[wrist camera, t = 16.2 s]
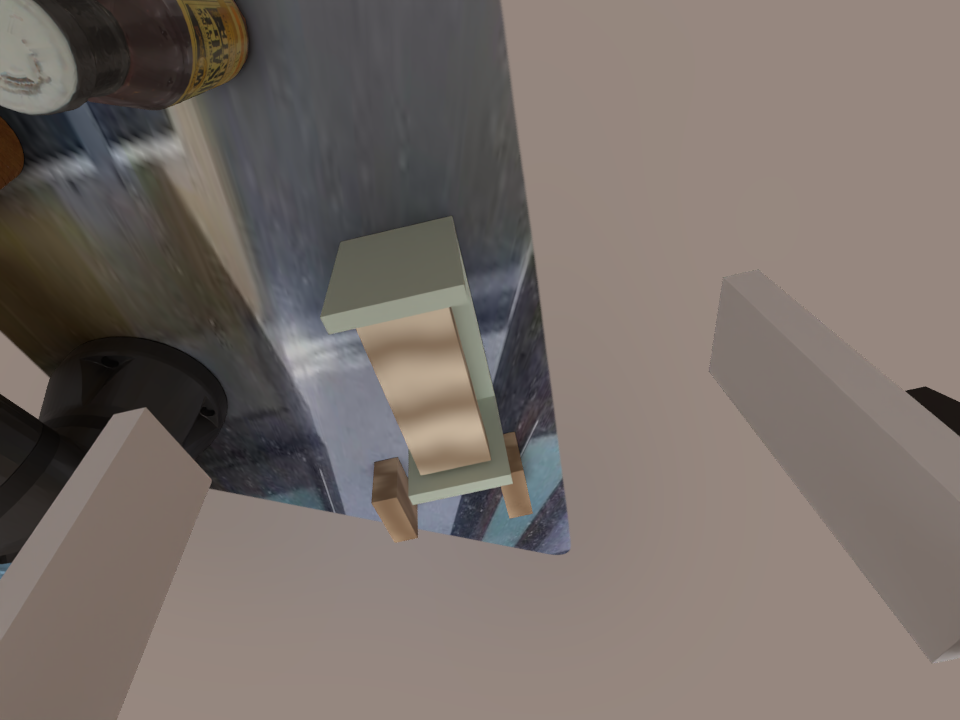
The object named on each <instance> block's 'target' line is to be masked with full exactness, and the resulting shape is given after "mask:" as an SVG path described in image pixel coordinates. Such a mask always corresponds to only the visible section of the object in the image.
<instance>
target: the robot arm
mask: <svg viewBox="0 0 960 720" xmlns="http://www.w3.org/2000/svg"><path fill="white" fill-rule="evenodd" d="M709 372H710V374H711V375H712V376H713V378H714V379H715V380H716V381H717V383H718V384H719V385H720V387H721V388H722V389H723V391H724V392H725V393H726V395H727V396H728V397H729V398H730V400H731V401H732V402H733V404H734V405H735V406H736V408H737V409H738V410H739V411H740V413H741V414H742V415H743V417H744V418H745V419H746V421H747V422H748V423H749V425H750V426H751V427H752V429H753V430H754V431H755V433H756V434H757V435H758V436H759V438H760V439H761V440H762V442H763V443H764V444H765V446H766V447H767V448H768V450H769V451H770V452H771V454H772V455H773V456H774V457H775V459H776V460H777V461H778V463H779V464H780V465H781V467H782V468H783V469H784V471H785V472H786V473H787V475H788V476H789V477H790V478H791V480H792V481H793V482H794V484H795V485H796V486H797V488H798V489H799V490H800V492H801V493H802V494H803V495H804V497H805V498H806V499H807V501H808V502H809V503H810V505H811V506H812V507H813V509H814V510H815V511H816V512H817V514H818V515H819V516H820V518H821V519H822V520H823V522H824V523H825V524H826V526H827V527H828V528H829V530H830V531H831V532H832V533H833V535H834V536H835V537H836V539H837V540H838V541H839V543H840V544H841V545H842V547H843V548H844V549H845V550H846V552H847V553H848V554H849V556H850V557H851V558H852V560H853V561H854V562H855V563H856V565H857V566H858V567H859V569H860V570H861V571H862V573H863V574H864V575H865V576H866V578H867V579H868V581H869V582H870V583H871V584H872V586H873V587H874V588H875V590H876V591H877V592H878V594H879V595H880V596H881V598H882V599H883V600H884V601H885V603H886V604H887V606H888V607H889V608H890V609H891V611H892V612H893V613H894V615H895V616H896V617H897V619H898V620H899V621H900V623H901V624H902V625H903V626H904V628H905V629H906V630H907V632H908V633H909V634H910V636H911V637H912V638H913V640H914V641H915V642H916V644H917V645H918V646H919V647H920V649H921V650H922V651H923V653H924V654H925V655H926V656H927V658H928V659H929V660H930V662H931V663H937V662H942V661H947V660H952V659H957V658H960V402H958V401H956V400H954V399H952V398H949V397H947V396H945V395H943V394H941V393H939V392H936V391H934V390H932V389H930V388H928V387H921V388H916V389H912V390H907V391H904V390H903V389H902V388H901V387H899V386H898V385H897V384H896V383H894V382H893V381H892V380H891V379H890V378H889V377H887V376H886V375H885V374H884V373H882V372H881V371H880V370H879V369H878V368H876V367H875V366H874V365H873V364H872V363H870V362H869V361H868V360H867V359H866V358H864V357H863V356H862V355H861V354H860V353H858V352H857V351H856V350H855V349H853V348H852V347H851V346H850V345H849V344H848V343H846V342H845V341H844V340H843V339H842V338H840V337H839V336H838V335H837V334H836V333H834V332H833V331H832V330H831V329H829V328H828V327H827V326H826V325H825V324H823V323H822V322H821V321H820V320H819V319H817V318H816V317H815V316H814V315H813V314H811V313H810V312H809V311H808V310H807V309H805V308H804V307H803V306H801V304H799V303H798V302H797V301H796V300H795V299H793V298H792V297H791V296H790V295H789V294H787V293H786V292H785V291H784V290H783V289H781V288H780V287H779V286H778V285H776V284H775V283H774V282H773V281H772V280H770V279H769V278H768V277H767V276H766V275H764V274H763V273H762V272H761V271H760V270H753V271H749V272H744V273H740V274H735V275H731V276H727V277H723V282H722V288H721V294H720V301H719V308H718V314H717V321H716V327H715V334H714V341H713V347H712V354H711V360H710V367H709ZM226 413H227V400H226V396H225V393H224V391H223V389H222V387H221V385H220V384H219V382H218V381H217V380H216V378H215V377H214V376H213V375H212V374H211V373H210V372H209V371H208V370H207V369H206V368H205V367H204V366H203V365H201V364H200V363H199V362H197V361H196V360H194V359H193V358H191V357H189V356H188V355H186V354H184V353H182V352H180V351H178V350H176V349H174V348H171V347H169V346H166V345H163V344H160V343H157V342H153V341H149V340H144V339H138V338H129V337H111V338H103V339H98V340H94V341H90V342H87V343H85V344H83V345H81V346H79V347H77V348H76V349H74V350H73V351H72V352H71V353H70V354H69V355H68V356H67V357H66V358H65V359H64V360H63V361H62V362H61V363H60V365H59V366H58V367H57V368H56V369H55V371H54V372H53V374H52V376H51V378H50V380H49V383H48V386H47V390H46V394H45V398H44V401H43V405H42V409H41V412H40V416H39V420H38V419H37V418H35V417H34V416H32V415H31V414H29V413H28V412H26V411H25V410H23V409H22V408H20V407H19V406H17V405H16V404H14V403H13V402H11V401H10V400H8V399H7V398H5V397H4V396H2V395H1V394H0V720H117V718H118V715H119V713H120V710H121V708H122V705H123V703H124V700H125V698H126V695H127V693H128V690H129V688H130V685H131V683H132V680H133V678H134V675H135V673H136V670H137V668H138V665H139V663H140V660H141V658H142V655H143V653H144V650H145V648H146V645H147V643H148V640H149V637H150V635H151V632H152V630H153V628H154V625H155V623H156V620H157V617H158V615H159V612H160V610H161V607H162V605H163V602H164V600H165V597H166V595H167V592H168V590H169V587H170V585H171V582H172V580H173V577H174V575H175V572H176V570H177V567H178V565H179V562H180V560H181V557H182V555H183V552H184V549H185V547H186V545H187V542H188V540H189V537H190V535H191V532H192V530H193V527H194V524H195V522H196V519H197V517H198V514H199V512H200V509H201V507H202V504H203V502H204V499H205V497H206V494H207V492H208V489H209V487H210V484H211V482H212V480H211V478H210V477H209V476H208V475H207V474H206V473H205V472H204V471H203V470H202V469H201V467H200V466H199V465H198V464H197V463H196V462H195V461H194V460H195V459H196V458H197V457H198V456H199V455H200V454H201V453H202V452H203V451H204V450H205V449H206V448H207V447H208V446H209V445H210V444H211V443H212V442H213V441H214V439H215V438H216V437H217V435H218V433H219V431H220V429H221V427H222V424H223V422H224V420H225V417H226Z"/></svg>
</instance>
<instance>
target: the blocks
mask: <svg viewBox="0 0 960 720" xmlns="http://www.w3.org/2000/svg"><path fill="white" fill-rule="evenodd" d="M503 437H504V442H505V447H506V452H507V457H508V462H509V467H510V472H511V477H512V481H513V484H509V485H504V486H501V489H502V493H503V496H504V500H505V503H506V507H507V511H508V514H509V518H514V517H519V516H524V515H528V514H533V512H532V508H531V503H530V498H529V494H528V489H527V484H526V480H525V475H524V471H523V466H522V462H521V458H520V453H519V449H518V444H517V440H516V436H515V432H511V433H506V434H503ZM372 505H373V506H374V508H375V510H376V511H377V513H378V515H379V517H380V518H381V520H382V522H383V523H384V525H385V527H386V528H387V530H388V532H389V534H390V535H391V537H392V539H393V540H394V542H395V543H396V542H401V541H405V540H410V539H415V538H418V522H417V504H416V505H412V503H411V501H410V499H409V497H408V478H407V476H406V474H405V471H404V469H403V467H402V465H401V463H400V461H399V459H398V457H396V458H392V459H387V460H383V461H378V462H375V463H374V477H373V490H372Z"/></svg>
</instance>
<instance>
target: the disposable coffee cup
mask: <svg viewBox="0 0 960 720" xmlns="http://www.w3.org/2000/svg"><path fill="white" fill-rule="evenodd" d="M23 164H24V156H23V150H22V147H21V145H20V142H19V140H18V138H17V137H16V135H15V133H14V132H13V130H12V129H11V128H10V127H9V125H8V124H7V123H6V122H5V121H4V120H3V119H2V118H1V117H0V189H2V188H3V187H4V186H6V185H7V184H8V183H9V182H11V181H12V180H13V179H15V178H16V177H17V176H18V175H19V174H20V173H21V171H22V168H23Z"/></svg>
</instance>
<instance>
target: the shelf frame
mask: <svg viewBox="0 0 960 720" xmlns="http://www.w3.org/2000/svg"><path fill="white" fill-rule="evenodd" d="M448 307H451V308H452V311H453V315H454V319H455V322H456V326H457V330H458V333H459V337H460V341H461V344H462V348H463V351H464V355H465V359H466V362H467V366H468V370H469V373H470V377H471V381H472V384H473V388H474V391H475V395H476V399H477V402H478V406H479V410H480V413H481V417H482V421H483V424H484V428H485V431H486V435H487V439H488V443H489V449H490V455H491V461H486V462H481V463H477V464H472V465H468V466H463V467H458V468H454V469H449V470H444V471H440V472H435V473H431V474H426V475H420V473H419V470H418V468H417V466H416V463H415V461H414V459H413V457H412V454H411V452H410V450H409V472H408V497H409V499H410V501H411V503H412V505H416V504H420V503H425V502H430V501H434V500H439V499H444V498H448V497H453V496H458V495H462V494H467V493H472V492H476V491H481V490H486V489H490V488H495V487H500V486H504V485H509V484H513V481H512V477H511V472H510V467H509V462H508V457H507V452H506V447H505V442H504V437H503V432H502V427H501V422H500V417H499V413H498V408H497V403H496V398H495V394H494V390H493V385H492V381H491V377H490V373H489V369H488V365H487V360H486V356H485V352H484V348H483V344H482V339H481V335H480V331H479V327H478V323H477V318H476V314H475V310H474V306H473V302H472V298H471V293H470V289H469V285H468V281H467V277H466V272H465V268H464V264H463V260H462V256H461V252H460V247H459V243H458V239H457V235H456V231H455V226H454V222H453V218H452V216H449V217H445V218H440V219H436V220H432V221H427V222H423V223H419V224H415V225H410V226H406V227H402V228H398V229H393V230H389V231H385V232H380V233H376V234H372V235H368V236H363V237H359V238H355V239H350V240H346V241H342V242H340V245H339V249H338V253H337V257H336V260H335V264H334V268H333V271H332V275H331V279H330V283H329V286H328V290H327V294H326V297H325V301H324V305H323V309H322V312H321V316H320V318H321V320H322V322H323V324H324V326H325V328H326V330H327V332H328V334H334V333H338V332H343V331H347V330H351V329H356V328H360V327H365V326H369V325H373V324H378V323H382V322H387V321H391V320H395V319H400V318H404V317H409V316H413V315H417V314H422V313H426V312H431V311H435V310H439V309H444V308H448Z"/></svg>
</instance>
